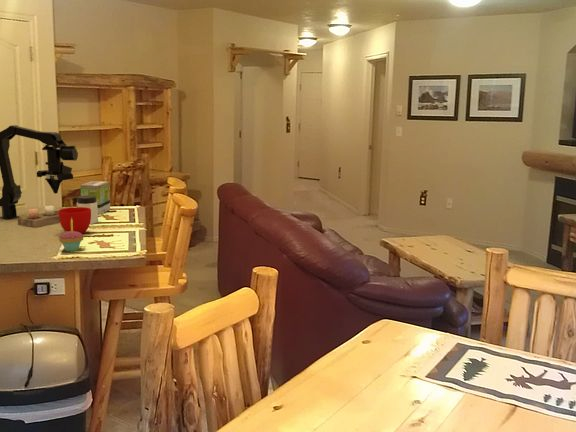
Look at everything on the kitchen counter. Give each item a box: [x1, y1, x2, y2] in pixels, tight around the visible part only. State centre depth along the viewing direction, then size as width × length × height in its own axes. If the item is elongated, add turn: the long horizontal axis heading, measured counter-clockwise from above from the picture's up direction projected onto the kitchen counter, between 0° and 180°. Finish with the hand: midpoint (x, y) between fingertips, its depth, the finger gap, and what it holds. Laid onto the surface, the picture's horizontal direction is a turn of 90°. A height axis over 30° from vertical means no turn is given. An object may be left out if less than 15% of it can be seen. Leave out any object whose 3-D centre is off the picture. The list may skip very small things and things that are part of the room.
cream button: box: [44, 205, 56, 216], centre depth 275 cm, size 4×4×4 cm
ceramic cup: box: [57, 206, 91, 235], centre depth 253 cm, size 13×17×10 cm
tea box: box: [80, 180, 111, 216], centre depth 297 cm, size 15×10×15 cm
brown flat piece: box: [17, 209, 60, 228], centre depth 276 cm, size 12×25×3 cm, turn 149°
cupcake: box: [58, 217, 84, 252], centre depth 224 cm, size 9×8×12 cm
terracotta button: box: [27, 207, 40, 219], centre depth 268 cm, size 4×4×4 cm
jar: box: [76, 195, 99, 225], centre depth 272 cm, size 9×8×12 cm
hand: (55, 193), depth 280 cm, fingers closed
